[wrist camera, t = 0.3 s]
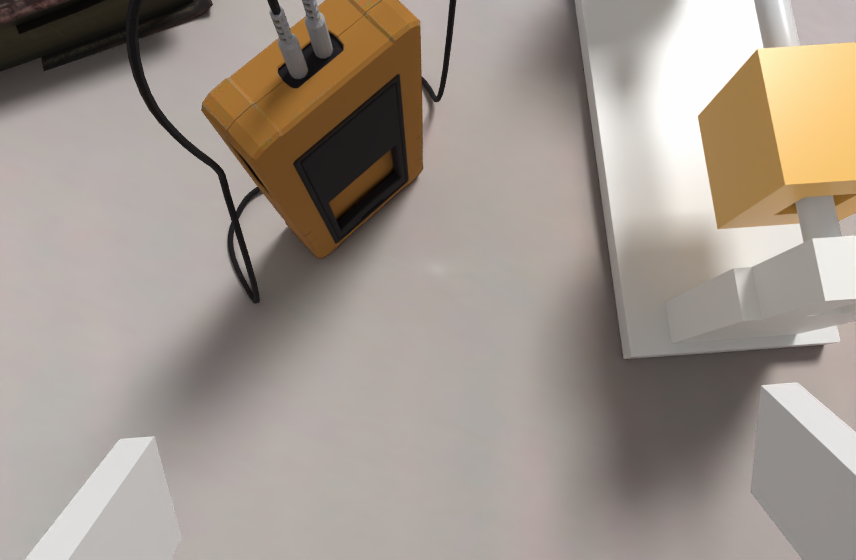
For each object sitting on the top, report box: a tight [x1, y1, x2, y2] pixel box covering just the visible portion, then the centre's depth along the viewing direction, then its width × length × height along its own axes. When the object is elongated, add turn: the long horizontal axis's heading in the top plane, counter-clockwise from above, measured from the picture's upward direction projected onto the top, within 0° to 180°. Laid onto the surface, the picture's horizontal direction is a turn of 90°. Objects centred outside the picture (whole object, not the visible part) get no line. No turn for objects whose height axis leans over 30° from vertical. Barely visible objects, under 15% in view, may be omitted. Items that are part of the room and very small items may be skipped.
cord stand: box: [574, 0, 856, 359], centre depth 28 cm, size 24×10×12 cm, turn 4°
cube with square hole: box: [698, 42, 856, 229], centre depth 24 cm, size 5×5×5 cm
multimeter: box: [126, 0, 456, 303], centre depth 24 cm, size 15×10×20 cm
